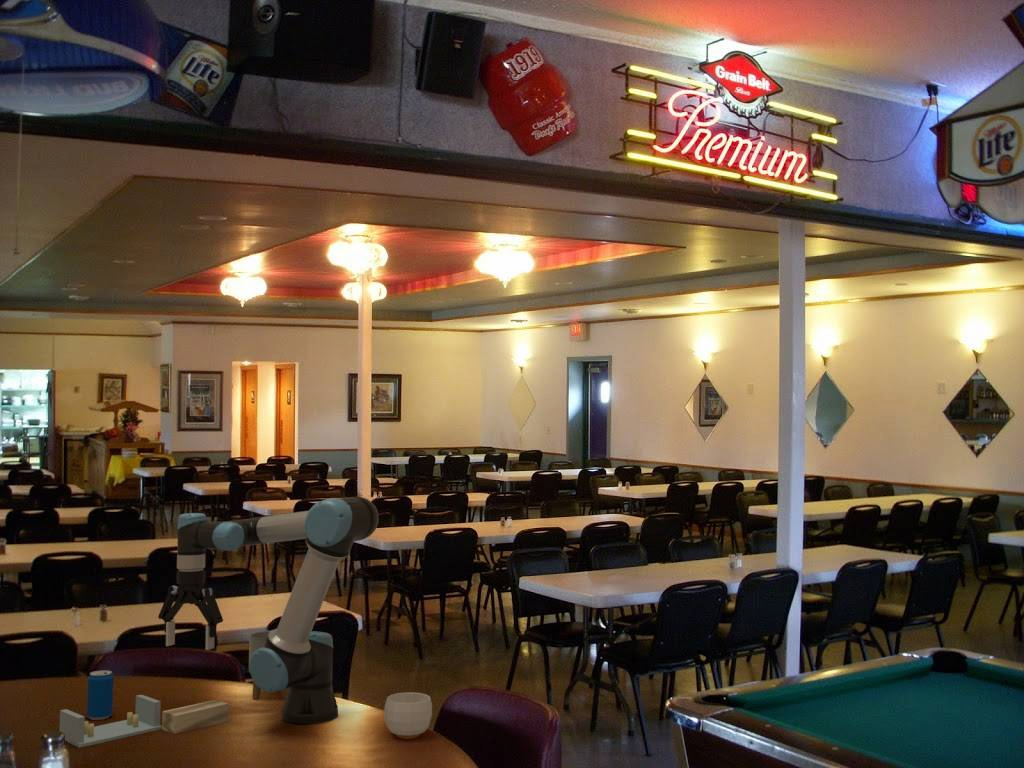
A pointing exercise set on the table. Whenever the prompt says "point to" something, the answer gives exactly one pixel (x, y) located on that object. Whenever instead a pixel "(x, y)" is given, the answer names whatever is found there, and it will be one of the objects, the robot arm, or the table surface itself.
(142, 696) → the peg frame
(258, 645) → the planter
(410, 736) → the cup
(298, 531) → the robot arm
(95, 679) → the beverage can
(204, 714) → the shelf board
